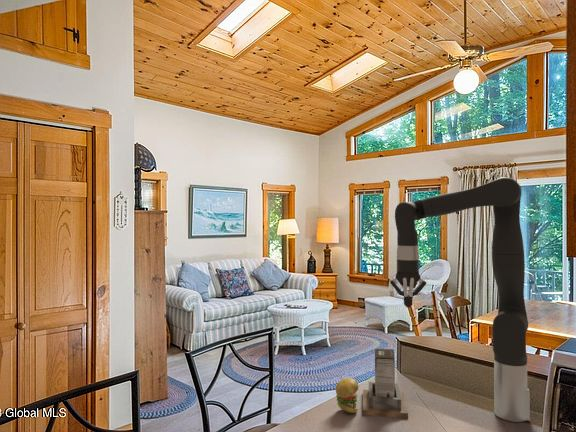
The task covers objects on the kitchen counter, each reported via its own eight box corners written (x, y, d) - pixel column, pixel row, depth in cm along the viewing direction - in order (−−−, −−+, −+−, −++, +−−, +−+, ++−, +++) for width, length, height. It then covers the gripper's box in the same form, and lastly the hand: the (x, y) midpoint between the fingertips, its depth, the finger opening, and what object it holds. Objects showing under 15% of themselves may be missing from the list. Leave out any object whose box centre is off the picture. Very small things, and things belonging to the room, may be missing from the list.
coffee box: (374, 394, 148) (374, 347, 148) (393, 395, 147) (393, 348, 147) (375, 406, 139) (375, 356, 139) (395, 407, 138) (395, 357, 138)
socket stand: (403, 396, 150) (403, 382, 150) (408, 418, 134) (408, 402, 134) (362, 393, 152) (362, 379, 152) (362, 414, 136) (362, 399, 136)
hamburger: (363, 415, 136) (363, 377, 136) (343, 419, 133) (343, 381, 133) (350, 405, 143) (350, 369, 143) (331, 409, 140) (331, 372, 140)
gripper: (425, 257, 154) (425, 305, 154) (387, 256, 157) (388, 304, 157) (428, 259, 147) (429, 309, 147) (389, 259, 149) (389, 308, 149)
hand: (408, 306), depth 152 cm, fingers closed
